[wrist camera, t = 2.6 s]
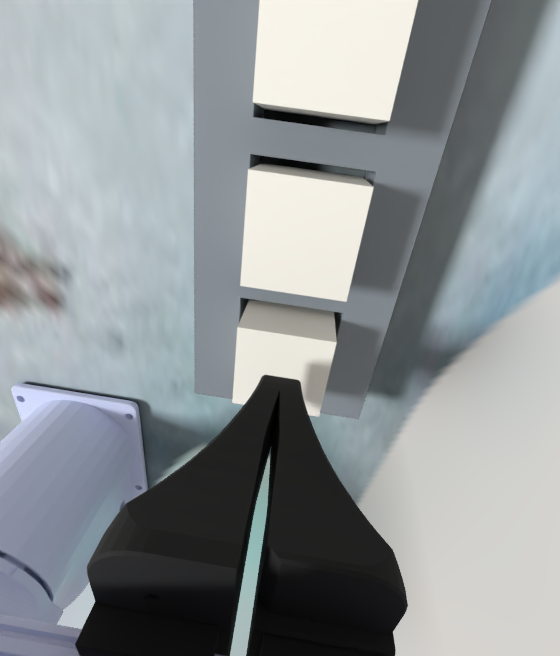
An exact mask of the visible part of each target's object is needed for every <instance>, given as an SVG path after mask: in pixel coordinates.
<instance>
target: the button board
mask: <svg viewBox="0 0 560 656" xmlns="http://www.w3.org/2000/svg"><path fill="white" fill-rule="evenodd" d="M491 1H492V0H418V4H417V8H416V12H415V16H414V21H413V25H412V29H411V33H410V37H409V42H408V46H407V50H406V54H405V58H404V62H403V67H402V71H401V75H400V79H399V83H398V88H397V92H396V96H395V100H394V104H393V109H392V113H391V117H390V121H387V122H383V123H379V124H377V126H376V131H375V134H372V133H364V132H357V131H350V130H343V129H335V128H328V127H321V126H313V125H306V124H299V123H292V122H284V121H277V120H270V119H264V108H262V107H260V106H259V105H257V104H255V103H253V89H254V74H255V59H256V45H257V30H258V15H259V0H193V11H194V314H195V393H198V394H204V395H210V396H216V397H223V398H229V399H233V384H234V370H235V355H236V340H237V327H238V325H239V322H240V320H241V318H242V315H243V313H244V311H245V308H246V306H247V303H248V301H249V299H254V300H260V301H267V302H274V303H280V304H287V305H293V306H300V307H306V308H313V309H320V310H326V311H333V312H335V314H334V317H335V329H336V340H337V343H336V348H335V352H334V356H333V360H332V364H331V369H330V373H329V377H328V381H327V385H326V390H325V394H324V398H323V402H322V406H321V411H320V413H323V414H329V415H335V416H342V417H348V418H354V419H359V417H360V414H361V411H362V407H363V404H364V401H365V398H366V395H367V392H368V388H369V385H370V382H371V379H372V376H373V373H374V370H375V366H376V363H377V360H378V357H379V354H380V351H381V347H382V344H383V341H384V338H385V335H386V332H387V329H388V325H389V322H390V319H391V316H392V313H393V310H394V306H395V303H396V300H397V297H398V294H399V291H400V288H401V284H402V281H403V278H404V275H405V272H406V269H407V265H408V262H409V259H410V256H411V253H412V250H413V247H414V243H415V240H416V237H417V234H418V231H419V228H420V225H421V221H422V218H423V215H424V212H425V209H426V206H427V202H428V199H429V196H430V193H431V190H432V187H433V184H434V180H435V177H436V174H437V171H438V168H439V165H440V161H441V158H442V155H443V152H444V149H445V146H446V143H447V139H448V136H449V133H450V130H451V127H452V124H453V120H454V117H455V114H456V111H457V108H458V105H459V102H460V98H461V95H462V92H463V89H464V86H465V83H466V80H467V76H468V73H469V70H470V67H471V64H472V61H473V57H474V54H475V51H476V48H477V45H478V42H479V39H480V35H481V32H482V29H483V26H484V23H485V20H486V16H487V13H488V10H489V7H490V4H491ZM261 156H268V157H275V158H282V159H289V160H296V161H304V162H311V163H318V164H325V165H332V166H339V167H346V168H353V169H360V170H367V171H366V175H365V180H366V181H368V182H369V183H370V184H371V185H372V186H373V187H374V188H373V192H372V197H371V201H370V205H369V209H368V213H367V218H366V222H365V226H364V230H363V234H362V239H361V243H360V247H359V251H358V255H357V260H356V264H355V268H354V272H353V276H352V281H351V285H350V289H349V293H348V297H347V302H344V301H337V300H331V299H324V298H317V297H311V296H304V295H297V294H291V293H284V292H277V291H271V290H264V289H258V288H251V287H244V286H240V281H241V266H242V252H243V237H244V222H245V207H246V192H247V178H248V169H250V168H252V167H254V166H256V165H259V164H260V157H261Z"/></svg>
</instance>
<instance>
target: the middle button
mask: <svg viewBox="0 0 560 656" xmlns="http://www.w3.org/2000/svg"><path fill="white" fill-rule="evenodd" d="M373 188H374V187H373V186H372V185H371V184H370V183H369V182H368V181H366V180H365V179H364V178H363V177H359V176H352V175H345V174H338V173H331V172H323V171H316V170H309V169H302V168H295V167H288V166H281V165H274V164H267V163H261V164H259V165H256V166H254V167H252V168H250V169H248V178H247V192H246V207H245V222H244V237H243V252H242V266H241V281H240V286H244V287H251V288H258V289H264V290H271V291H277V292H284V293H291V294H297V295H304V296H311V297H317V298H324V299H331V300H337V301H344V302H347V297H348V293H349V289H350V285H351V281H352V276H353V272H354V268H355V264H356V260H357V255H358V251H359V247H360V243H361V239H362V234H363V230H364V226H365V222H366V218H367V213H368V209H369V205H370V201H371V197H372V192H373Z"/></svg>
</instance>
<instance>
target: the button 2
mask: <svg viewBox="0 0 560 656" xmlns="http://www.w3.org/2000/svg"><path fill="white" fill-rule="evenodd" d="M417 4H418V0H259V15H258V30H257V45H256V59H255V74H254V89H253V103H255V104H257V105H259V106H260V107H262V108H264V109H266V110H271V111H279V112H286V113H293V114H301V115H308V116H315V117H323V118H330V119H337V120H344V121H352V122H359V123H366V124H379V123H383V122H387V121H390V117H391V113H392V109H393V104H394V100H395V96H396V92H397V88H398V83H399V79H400V75H401V71H402V67H403V62H404V58H405V54H406V50H407V46H408V42H409V37H410V33H411V29H412V25H413V21H414V16H415V12H416V8H417Z"/></svg>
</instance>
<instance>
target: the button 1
mask: <svg viewBox="0 0 560 656" xmlns="http://www.w3.org/2000/svg"><path fill="white" fill-rule="evenodd" d="M336 343H337V340H336V329H335V317H334V312H333V311H326V310H320V309H313V308H306V307H300V306H293V305H287V304H280V303H274V302H267V301H260V300H254V299H249V301H248V303H247V306H246V308H245V311H244V313H243V315H242V318H241V320H240V322H239V325H238V327H237V340H236V355H235V370H234V384H233V399H232V403H236V404H243V405H244V404H245V403H246V402H247V400H248V399H249V398H250V396H251V395H252V393H253V392H254V390H255V389H256V387H257V385H258V383H259V382H260V380H261V377H262V376H264V375H271V376H277V377H284V378H290V379H296V380H299V381H300V383H301V389H302V394H303V399H304V402H305V406H306V409H307V412H308V415H311V416H318V417H319V415H320V411H321V406H322V402H323V398H324V394H325V390H326V385H327V381H328V377H329V373H330V369H331V364H332V360H333V356H334V352H335V348H336Z"/></svg>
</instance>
